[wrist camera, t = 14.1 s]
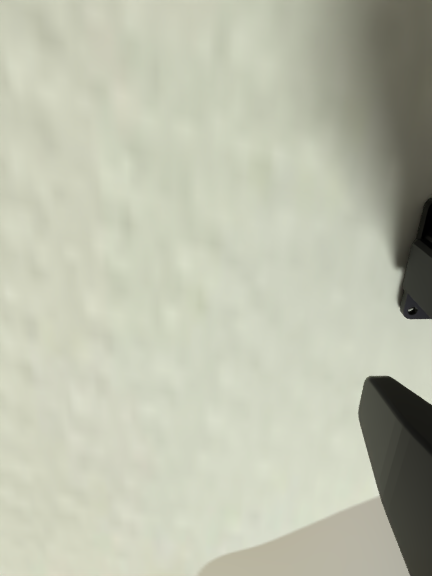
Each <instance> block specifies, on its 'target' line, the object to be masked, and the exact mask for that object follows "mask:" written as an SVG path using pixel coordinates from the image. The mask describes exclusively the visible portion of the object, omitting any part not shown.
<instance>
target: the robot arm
mask: <svg viewBox="0 0 432 576" xmlns="http://www.w3.org/2000/svg"><path fill="white" fill-rule="evenodd" d="M403 289H404V294H403V298H402V302H401V306H400V311H401V313H402V314H403V315H404V317H406V318H407V319H432V198H431V199H429V200H428V201H427V202H426V203H425V206H424V209H423V213H422V217H421V221H420V226H419V230H418V234H417V238H416V240H415V241H414V242H413V244H412V247H411V251H410V256H409V260H408V264H407V269H406V273H405V277H404V281H403ZM411 307H414V309H413V310H411V311H408V310H409V309H410V308H411ZM358 414H359V422H360V426H361V429H362V433H363V437H364V440H365V444H366V448H367V451H368V455H369V459H370V462H371V466H372V469H373V473H374V477H375V480H376V484H377V488H378V491H379V494H380V498H381V501H382V504H383V506H384V509H385V512H386V515H387V517H388V520H389V523H390V525H391V528H392V530H393V533H394V535H395V538H396V540H397V543H398V546H399V548H400V551H401V553H402V555H403V558H404V561H405V563H406V566H407V568H408V571H409V574H410V576H432V405H431V404H429V403H428V402H427V401H425V400H424V399H422V398H421V397H419V396H418V395H416V394H415V393H413V392H412V391H411V390H409V389H408V388H406V387H405V386H403V385H402V384H400V383H399V382H398V381H396V380H395V379H393V378H391V377H389V376H369V377H367V378H366V380H365V382H364V386H363V390H362V395H361V400H360V405H359V412H358Z"/></svg>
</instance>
